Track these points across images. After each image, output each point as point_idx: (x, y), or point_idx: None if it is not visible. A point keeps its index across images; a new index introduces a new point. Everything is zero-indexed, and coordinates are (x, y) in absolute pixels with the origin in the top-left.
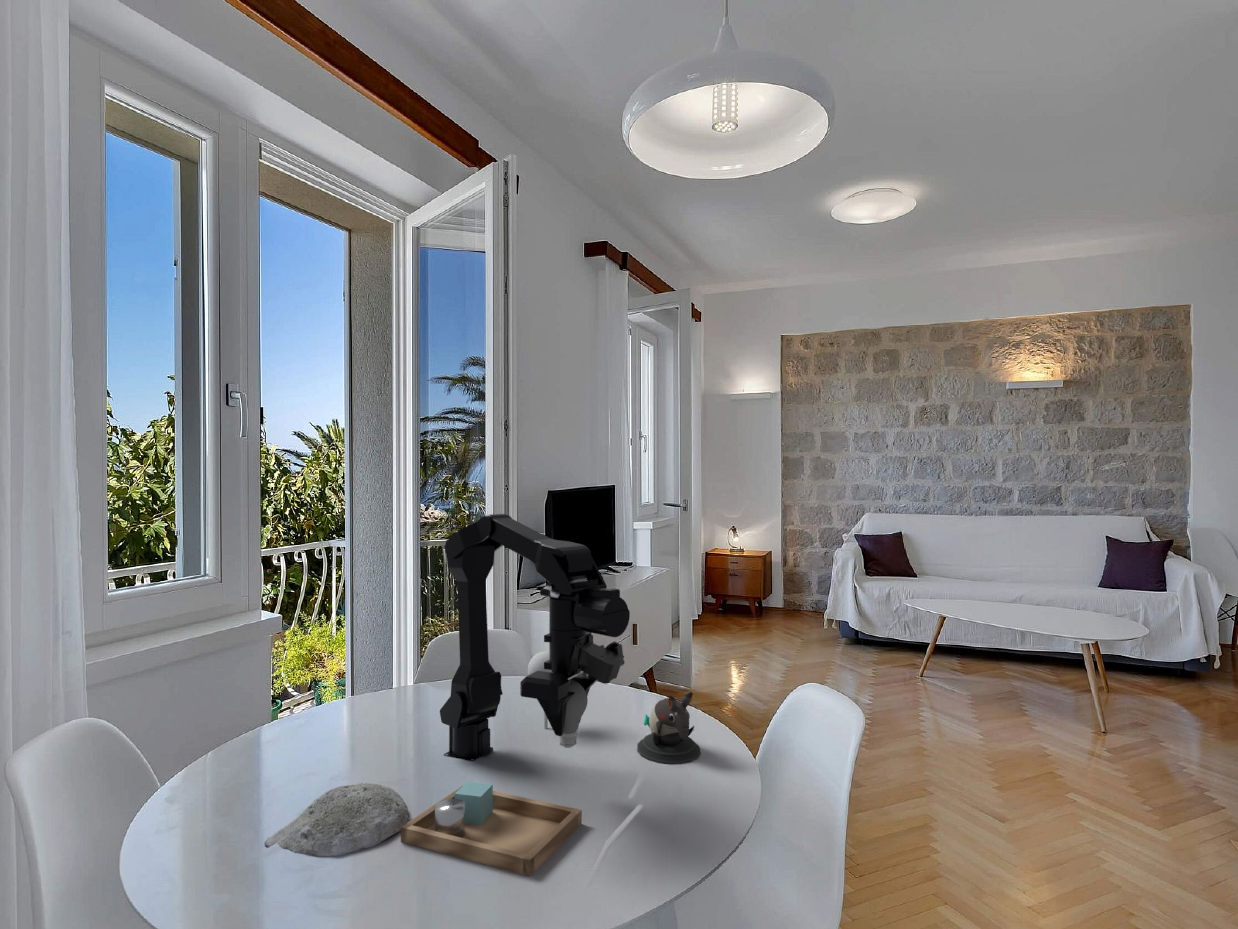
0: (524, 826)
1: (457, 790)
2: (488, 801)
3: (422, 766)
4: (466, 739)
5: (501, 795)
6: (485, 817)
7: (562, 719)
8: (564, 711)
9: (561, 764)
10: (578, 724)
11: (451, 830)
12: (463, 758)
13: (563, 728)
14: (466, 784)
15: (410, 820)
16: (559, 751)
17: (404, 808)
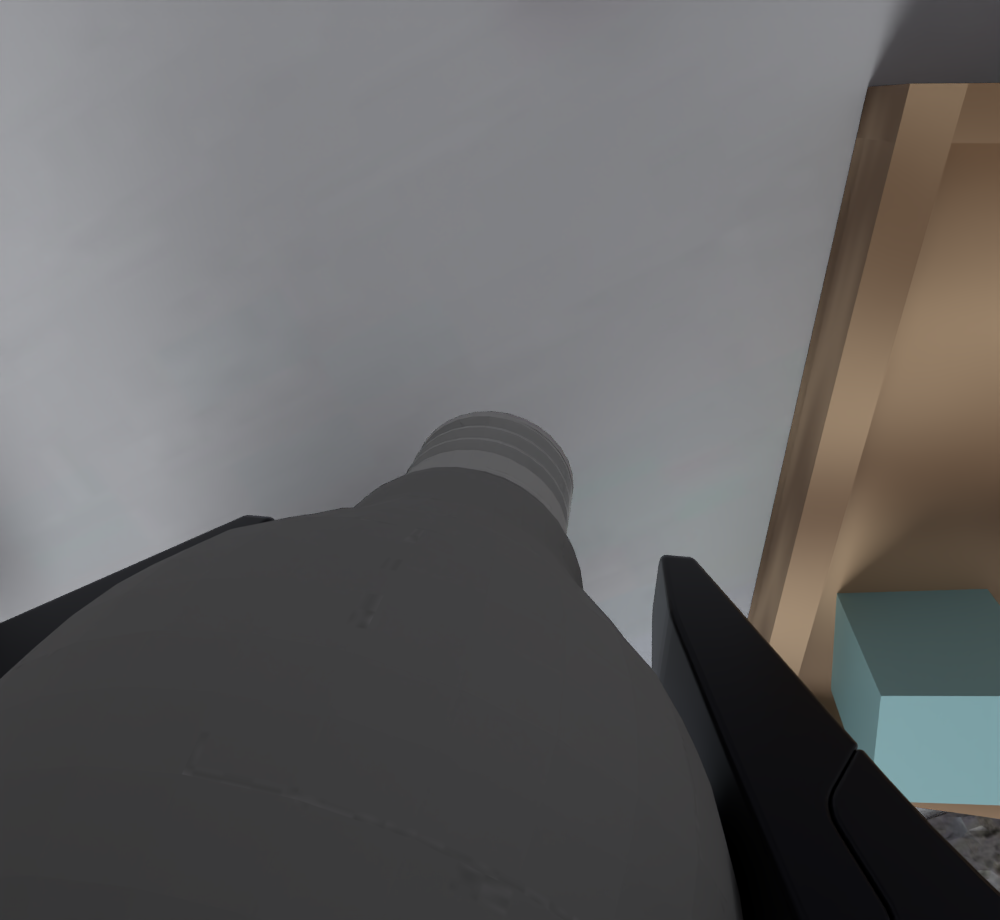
0: (971, 400)
1: None
2: (919, 644)
3: None
4: None
5: (806, 616)
6: (933, 599)
7: (809, 704)
8: (828, 809)
9: (225, 512)
10: (418, 487)
11: None
12: None
13: (683, 595)
14: (909, 795)
15: (978, 820)
16: (124, 567)
17: (994, 882)
